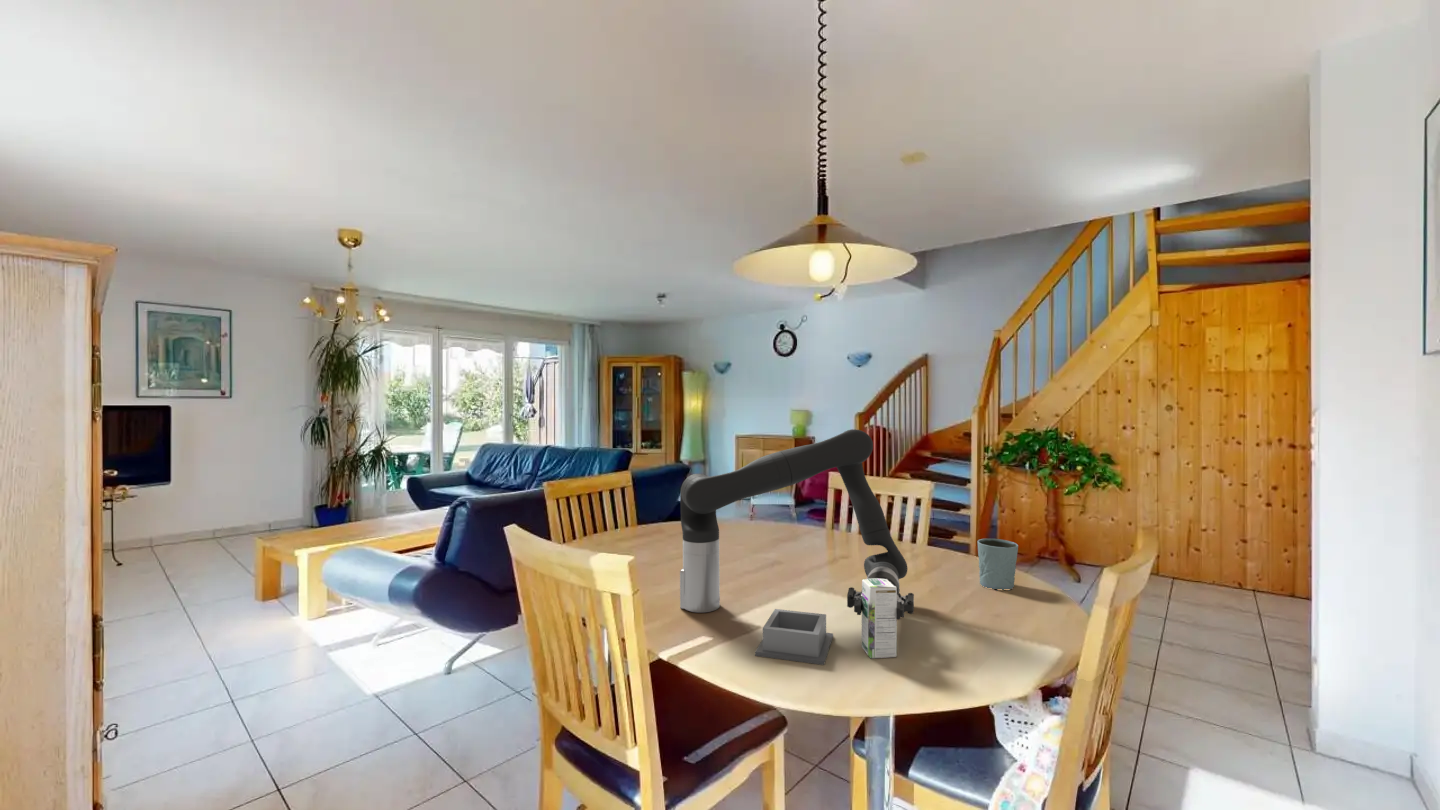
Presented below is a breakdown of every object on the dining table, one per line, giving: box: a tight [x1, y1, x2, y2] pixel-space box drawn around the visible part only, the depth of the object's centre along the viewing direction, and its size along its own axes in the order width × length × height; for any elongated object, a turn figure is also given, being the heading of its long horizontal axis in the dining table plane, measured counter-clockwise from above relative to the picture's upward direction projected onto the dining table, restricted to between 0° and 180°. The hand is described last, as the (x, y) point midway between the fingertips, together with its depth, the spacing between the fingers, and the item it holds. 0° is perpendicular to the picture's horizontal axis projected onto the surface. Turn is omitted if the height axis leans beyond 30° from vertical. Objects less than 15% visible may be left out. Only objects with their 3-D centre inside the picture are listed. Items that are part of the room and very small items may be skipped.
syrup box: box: [861, 578, 898, 659], centre depth 120 cm, size 6×6×14 cm
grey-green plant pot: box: [977, 538, 1019, 590], centre depth 162 cm, size 10×10×12 cm
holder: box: [754, 608, 834, 666], centre depth 124 cm, size 14×14×5 cm
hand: (878, 612), depth 118 cm, fingers closed on syrup box, 7 cm apart
